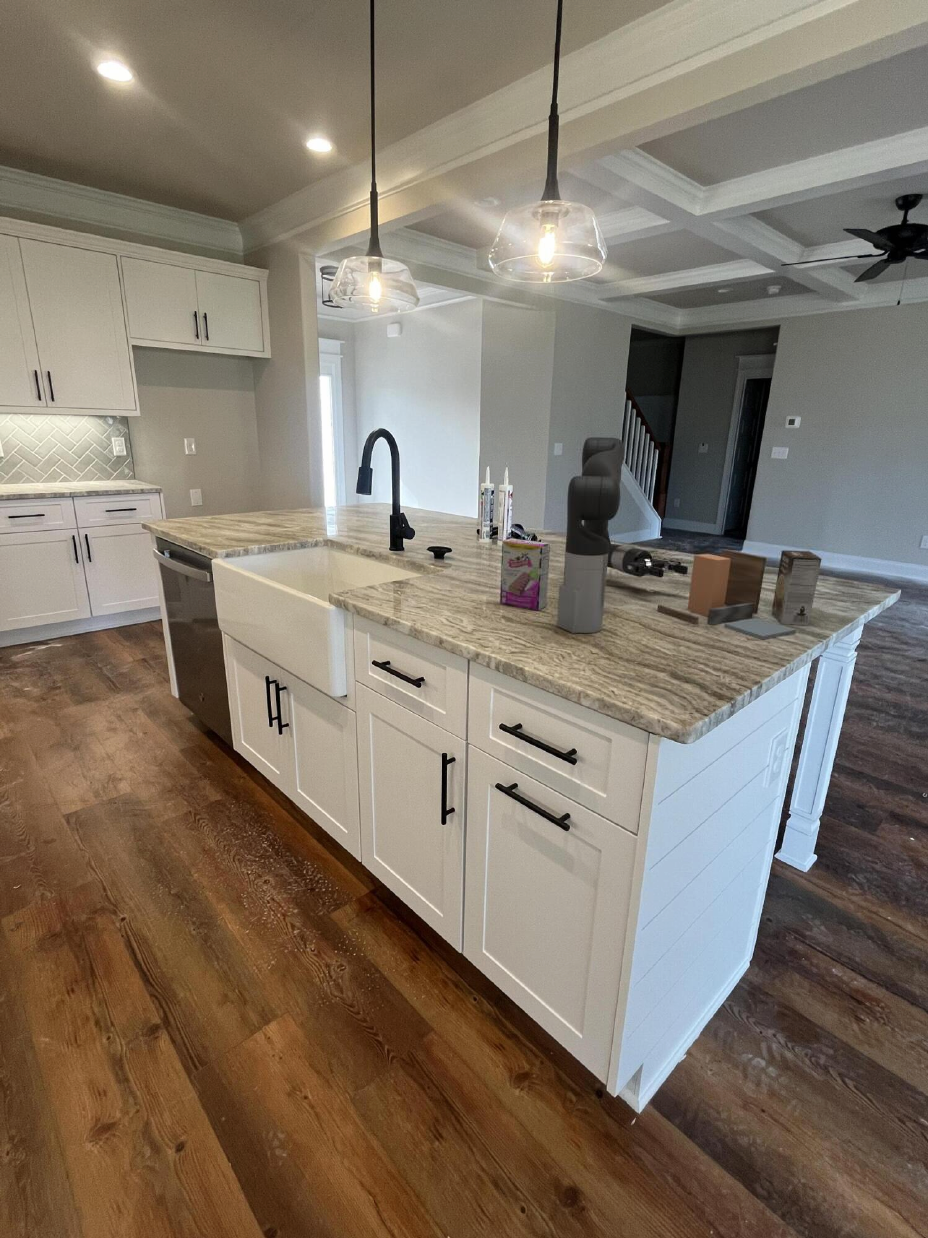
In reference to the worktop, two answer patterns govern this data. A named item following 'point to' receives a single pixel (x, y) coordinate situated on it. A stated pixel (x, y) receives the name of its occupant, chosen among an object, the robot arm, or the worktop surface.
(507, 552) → the candy bar box
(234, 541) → the worktop surface
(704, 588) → the orange block
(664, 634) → the worktop surface
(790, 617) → the coffee box
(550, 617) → the worktop surface
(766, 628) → the mat
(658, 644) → the worktop surface
